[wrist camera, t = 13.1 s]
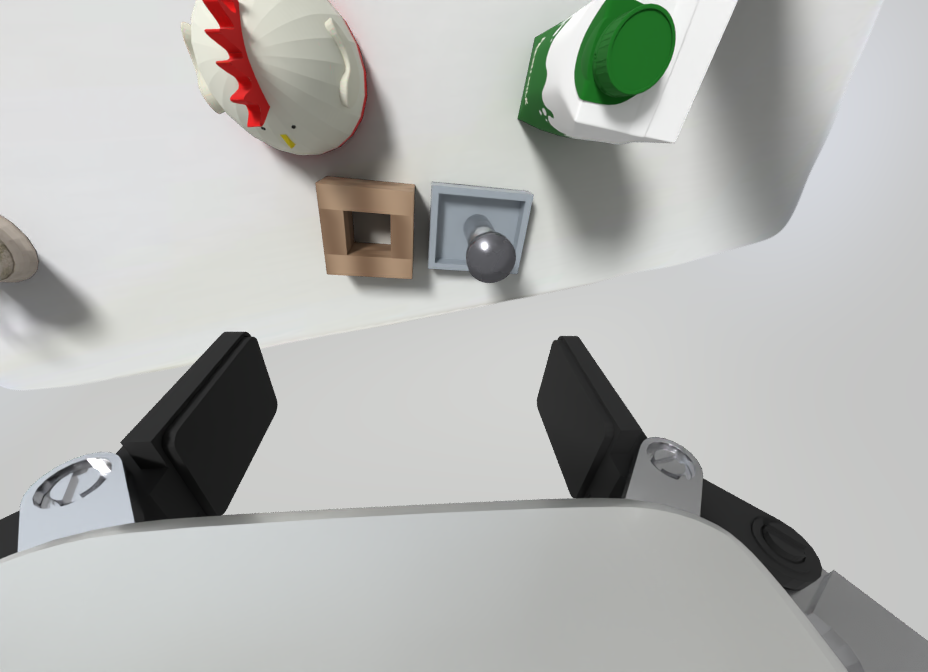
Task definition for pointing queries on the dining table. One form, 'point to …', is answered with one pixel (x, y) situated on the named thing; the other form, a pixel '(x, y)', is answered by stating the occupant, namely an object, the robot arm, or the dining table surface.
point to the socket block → (338, 231)
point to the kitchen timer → (280, 70)
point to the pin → (487, 250)
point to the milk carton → (623, 69)
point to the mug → (15, 254)
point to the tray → (464, 201)
